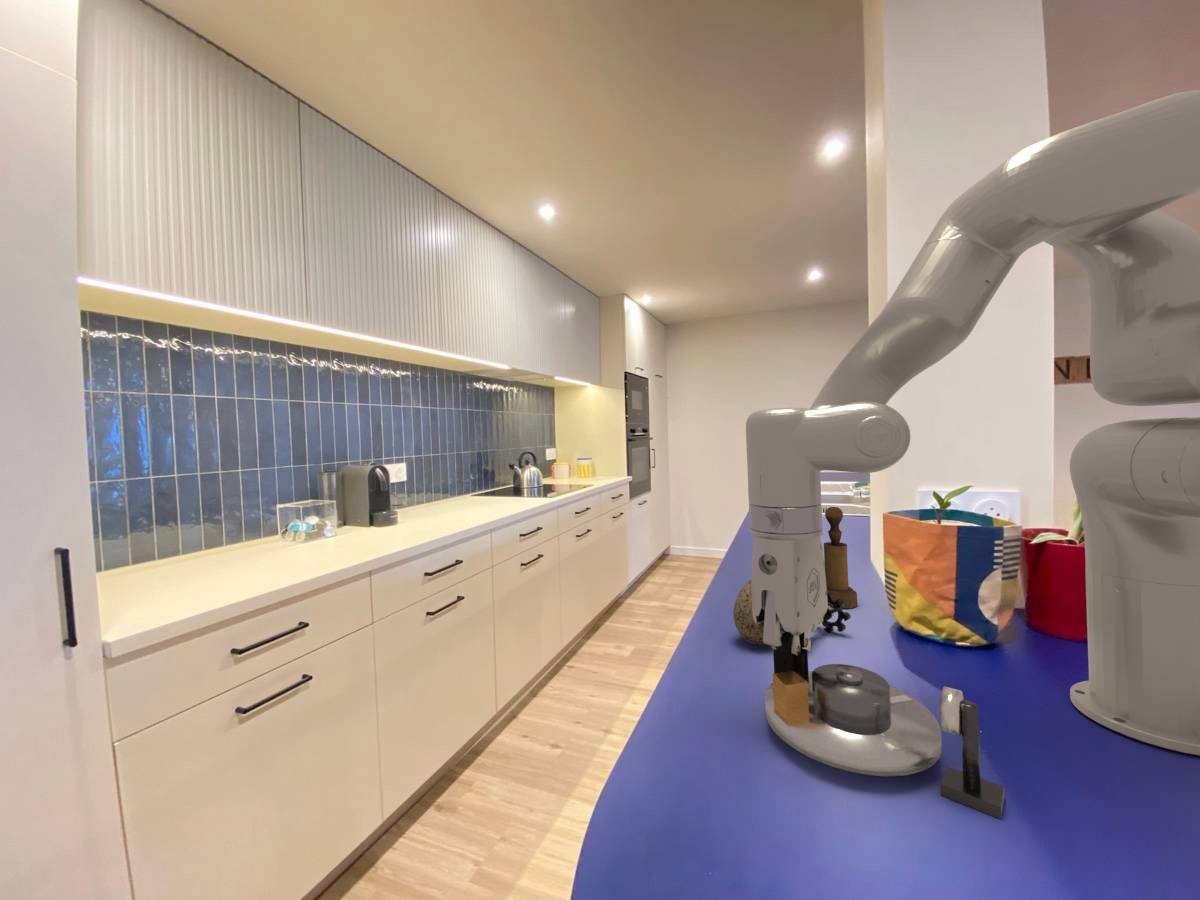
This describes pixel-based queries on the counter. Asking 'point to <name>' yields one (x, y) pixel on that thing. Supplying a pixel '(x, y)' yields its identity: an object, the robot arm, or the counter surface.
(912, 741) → the turntable
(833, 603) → the valve
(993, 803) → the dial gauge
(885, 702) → the cover
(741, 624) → the decorative egg
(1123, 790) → the counter surface
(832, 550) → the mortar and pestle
